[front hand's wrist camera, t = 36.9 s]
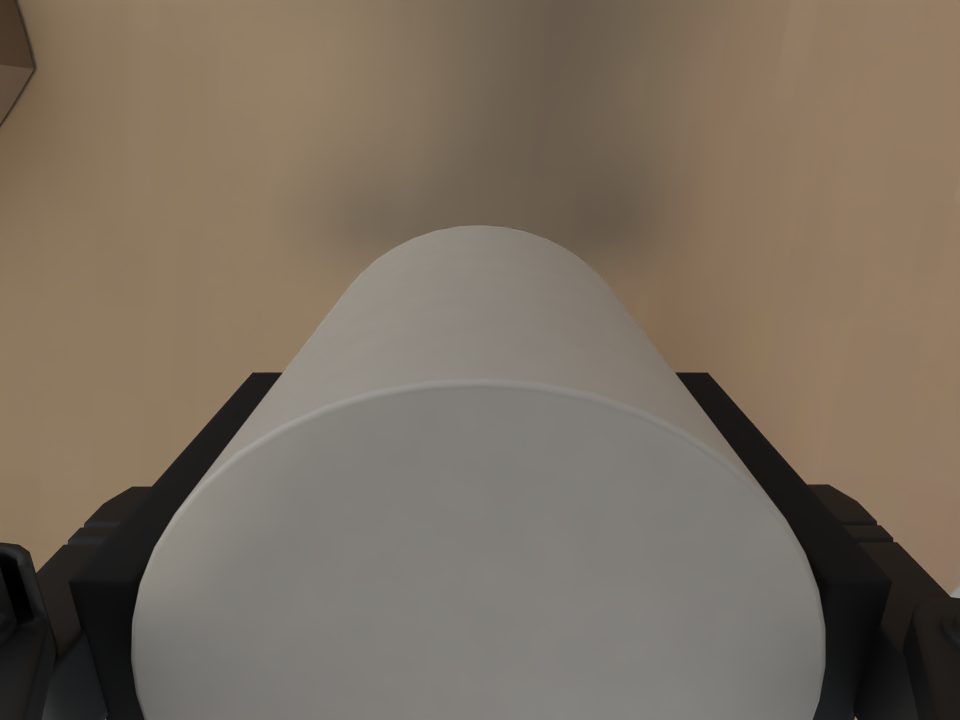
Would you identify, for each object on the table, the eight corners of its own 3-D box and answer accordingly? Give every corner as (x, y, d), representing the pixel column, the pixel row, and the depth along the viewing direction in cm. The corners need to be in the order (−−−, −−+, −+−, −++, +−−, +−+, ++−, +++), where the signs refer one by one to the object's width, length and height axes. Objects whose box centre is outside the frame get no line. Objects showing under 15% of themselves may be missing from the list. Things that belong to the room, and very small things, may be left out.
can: (271, 272, 15) (-8, 483, 7) (608, 185, 15) (801, 290, 6) (375, 547, 18) (276, 955, 9) (662, 485, 17) (848, 862, 9)
